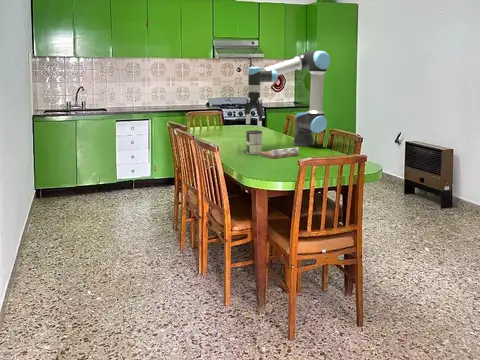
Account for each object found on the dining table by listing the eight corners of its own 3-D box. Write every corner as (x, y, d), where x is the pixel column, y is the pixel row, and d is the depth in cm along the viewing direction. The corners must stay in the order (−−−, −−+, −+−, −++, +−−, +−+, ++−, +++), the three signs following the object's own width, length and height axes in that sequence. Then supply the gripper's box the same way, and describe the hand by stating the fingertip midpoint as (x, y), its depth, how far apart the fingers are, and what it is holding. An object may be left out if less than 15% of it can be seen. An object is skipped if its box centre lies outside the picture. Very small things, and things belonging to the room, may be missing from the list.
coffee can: (243, 153, 328) (242, 131, 325) (252, 150, 336) (252, 129, 333) (255, 154, 322) (255, 132, 319) (265, 152, 330) (265, 131, 326)
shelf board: (285, 152, 330) (285, 144, 329) (298, 155, 318) (299, 147, 317) (260, 155, 320) (260, 147, 318) (273, 158, 308) (273, 150, 307)
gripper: (238, 91, 329) (238, 123, 333) (260, 92, 308) (259, 127, 312) (248, 90, 332) (248, 122, 337) (270, 92, 312) (269, 126, 316)
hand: (253, 125), depth 325 cm, fingers open, 13 cm apart
